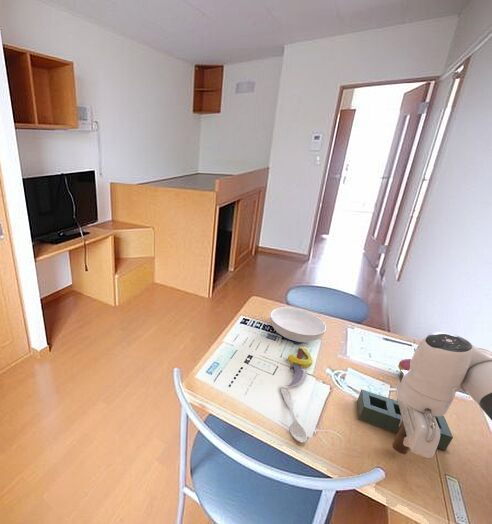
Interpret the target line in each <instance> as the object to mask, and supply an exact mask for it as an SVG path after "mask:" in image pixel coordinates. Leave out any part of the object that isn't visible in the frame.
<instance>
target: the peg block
mask: <svg viewBox="0 0 492 524" xmlns="http://www.w3.org/2000/svg"><path fill="white" fill-rule="evenodd" d="M356 404H357V416H358V420H359V421H363V422H365V423H368V424H370V425H374V426H376V427H379V428H382V429H385V430H387V431H389V432H393V433H396V434H397V432H398V430H399V424H400V420H401V412H400V408H399V405H398V401H397V399H393V398H391V397H387V396H383V395H380V394H378V393H375V392H371V391H368V390H365V389H361V390H360V392H359V395H358V397H357V400H356ZM435 419H436V421H437V424H438V426H439V429H440V440H439V443H438V446H437V449H440V450H443V451H447V449H448V447H449V445H450V444H451V442H452V440H453V439H454V436H453V434H452V431H451V428H450V427H449V423H448V421H447V419H446V418H445V415H443V416H435Z"/></svg>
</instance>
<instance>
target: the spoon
mask: <svg viewBox="0 0 492 524" xmlns="http://www.w3.org/2000/svg"><path fill="white" fill-rule="evenodd" d="M280 392H281V395H282V397H283V400H284V402H285V404H286V406H287V408H288V409H289V411H290V414H291V416H292V419H293V421H292V423H291V424H290V425H289V432H290V434H291V436H292V437H293V439H294V440H296V441H297V442H299V443H301V444H304V443H306V442H307V439H308V438H307V433H306V431H305V428H304V427H303V426H302V425H301V424H300V423H299V422H298V421H299V420H298V419H297V417H296V415H295V412H294V409H293V405H292V404H293V403H292V401H291V398H290V394H289V391H288V390H287V389H286V388H285V387H282V388H281V389H280Z"/></svg>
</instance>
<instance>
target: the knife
mask: <svg viewBox="0 0 492 524" xmlns="http://www.w3.org/2000/svg"><path fill="white" fill-rule="evenodd" d="M303 356H304V358H305V359H303ZM287 361H288V363H289V364H291V365H289V370H292V371H293V374H294V377H293V379H292V380H291V382H290V383H289V384H286V385H285V387H288V388H291V387H296V386H299V385H302V384H304V382H305V381H306V378H307V377H308V376H307V375H308V370H303V368H304V369H305V368H310V367H311V366H312V364H313V363H314V362H313V361H314V359H313V356H312V355H311V354H310V352H309V349H308V348H307V347H306V346H301V345H299V346H298V348H297V354H288V356H287Z"/></svg>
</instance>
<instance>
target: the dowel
mask: <svg viewBox="0 0 492 524" xmlns="http://www.w3.org/2000/svg"><path fill="white" fill-rule="evenodd" d="M404 436H407V435H406V431H405V427H404V423H403V420H402V423H401V425H400V427H399V430H398V432H397V433H396V434H395V436H394V439H393V441H392V443H391V447H392V448H393V449H394V451H395V452H397V453H399V454H401V455H407V454H408V453H409V451H410V448H409V447H407V446H404V444H403V440H402V439H403V437H404Z"/></svg>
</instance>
